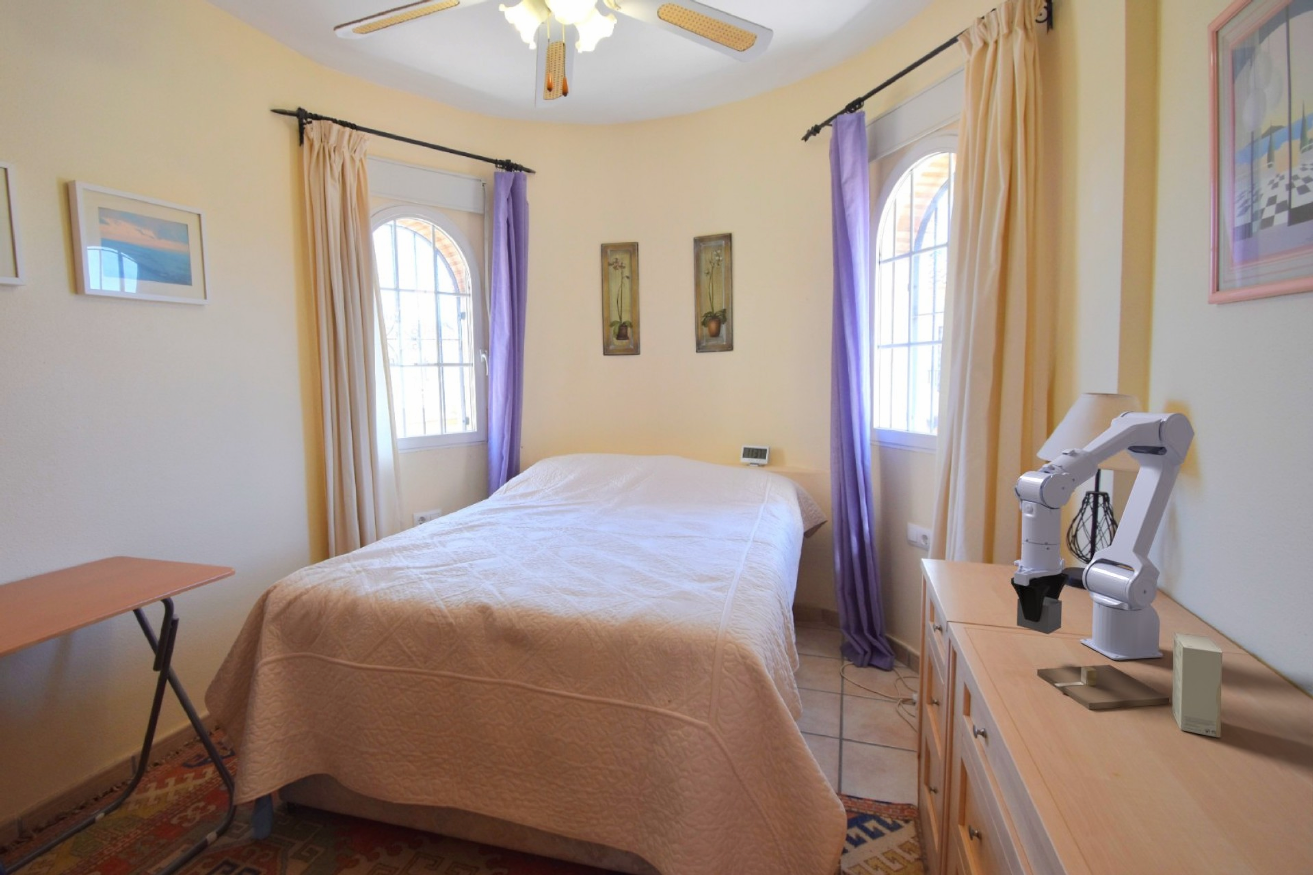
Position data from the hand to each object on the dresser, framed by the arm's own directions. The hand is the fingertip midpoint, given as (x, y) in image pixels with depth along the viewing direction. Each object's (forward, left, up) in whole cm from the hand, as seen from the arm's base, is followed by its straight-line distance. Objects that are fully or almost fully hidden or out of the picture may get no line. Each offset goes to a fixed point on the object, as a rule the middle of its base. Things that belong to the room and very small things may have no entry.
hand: (1039, 616), depth 105 cm
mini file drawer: (0, 0, -2) cm, 2 cm away
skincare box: (-8, +21, -9) cm, 24 cm away
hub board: (-3, +10, -8) cm, 13 cm away
